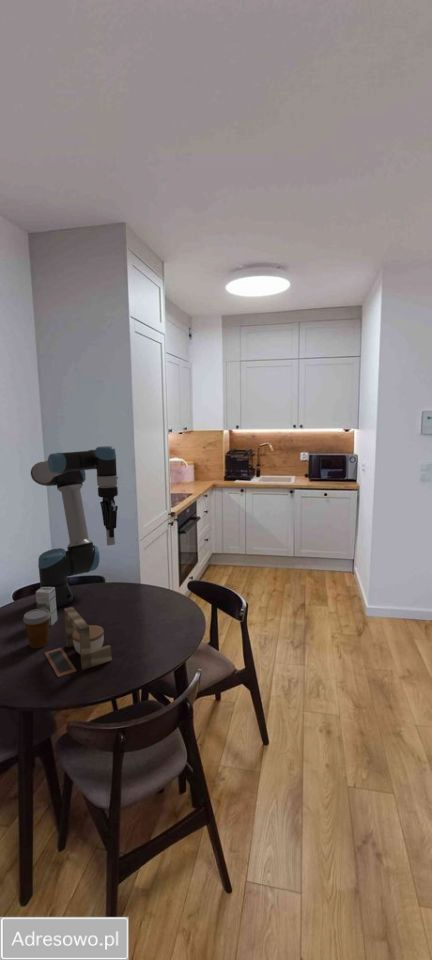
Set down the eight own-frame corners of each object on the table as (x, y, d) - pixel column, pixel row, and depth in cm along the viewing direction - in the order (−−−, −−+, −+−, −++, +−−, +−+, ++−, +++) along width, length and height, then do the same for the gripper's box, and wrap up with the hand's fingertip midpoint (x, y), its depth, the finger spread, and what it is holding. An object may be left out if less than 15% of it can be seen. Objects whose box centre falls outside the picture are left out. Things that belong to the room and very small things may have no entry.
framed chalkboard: (44, 653, 161) (44, 652, 161) (61, 648, 164) (61, 647, 164) (57, 677, 146) (57, 676, 146) (76, 671, 149) (76, 670, 149)
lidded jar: (92, 641, 168) (91, 618, 167) (111, 650, 162) (109, 626, 160) (67, 654, 160) (65, 629, 158) (86, 664, 153) (84, 638, 152)
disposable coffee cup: (30, 653, 161) (27, 622, 159) (21, 643, 168) (18, 613, 166) (57, 644, 167) (54, 613, 165) (47, 635, 174) (44, 605, 172)
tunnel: (66, 646, 165) (63, 608, 163) (93, 638, 171) (91, 601, 169) (82, 669, 150) (80, 628, 148) (111, 660, 155) (109, 620, 153)
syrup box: (58, 619, 187) (55, 586, 185) (51, 626, 181) (48, 592, 179) (44, 619, 187) (42, 586, 185) (37, 626, 182) (35, 591, 179)
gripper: (123, 487, 173) (126, 546, 176) (110, 483, 183) (114, 539, 187) (104, 489, 169) (107, 550, 172) (92, 485, 179) (96, 542, 183)
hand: (111, 544), depth 180 cm, fingers closed
